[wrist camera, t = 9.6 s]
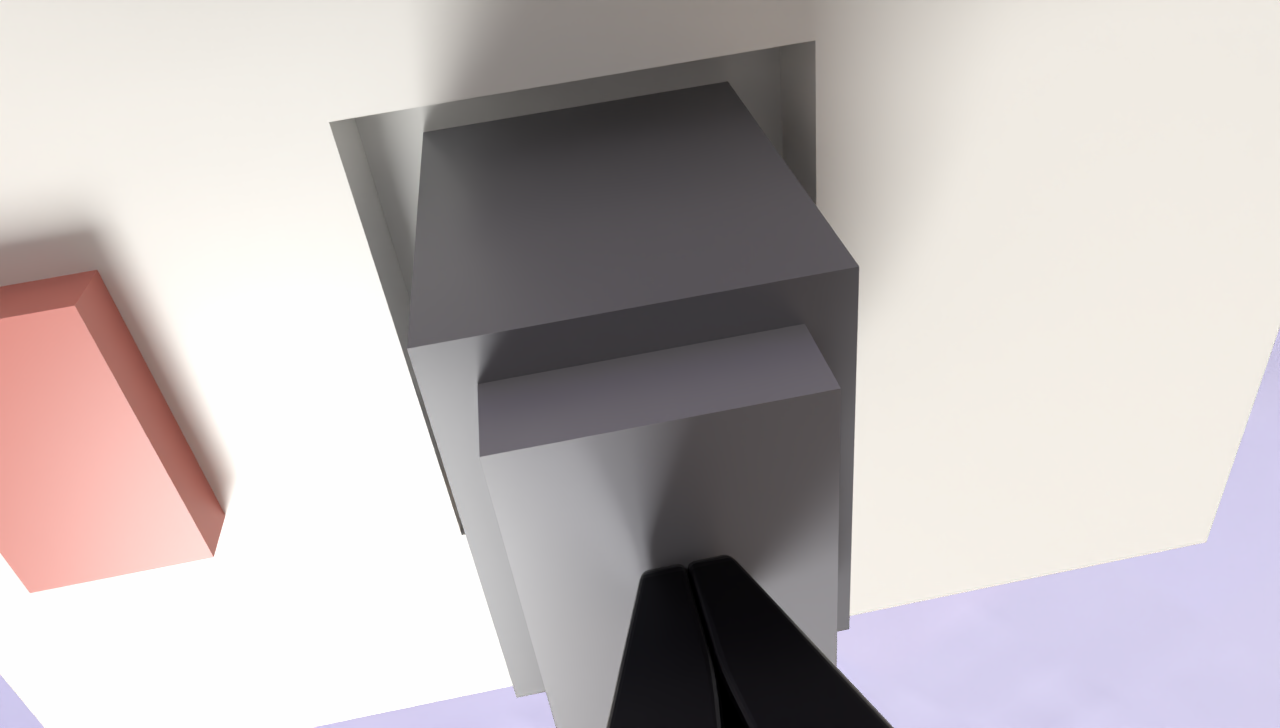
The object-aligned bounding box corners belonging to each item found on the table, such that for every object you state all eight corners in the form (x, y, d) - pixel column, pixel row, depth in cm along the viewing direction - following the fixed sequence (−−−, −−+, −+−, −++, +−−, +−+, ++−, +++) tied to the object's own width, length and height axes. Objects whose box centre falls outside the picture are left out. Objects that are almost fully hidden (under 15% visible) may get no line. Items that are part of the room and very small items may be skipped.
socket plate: (1321, -443, 11) (1639, -495, 8) (1113, 437, 20) (1235, 575, 17) (-424, -198, 10) (-808, -155, 7) (132, 632, 18) (68, 820, 15)
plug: (727, 81, 12) (902, 327, 8) (745, 383, 15) (878, 701, 10) (423, 132, 12) (400, 421, 7) (500, 429, 15) (521, 776, 10)
